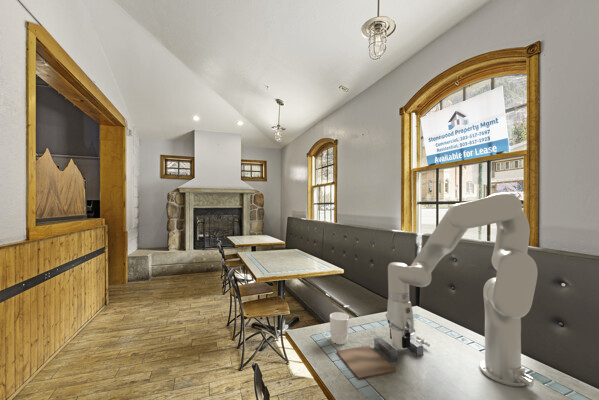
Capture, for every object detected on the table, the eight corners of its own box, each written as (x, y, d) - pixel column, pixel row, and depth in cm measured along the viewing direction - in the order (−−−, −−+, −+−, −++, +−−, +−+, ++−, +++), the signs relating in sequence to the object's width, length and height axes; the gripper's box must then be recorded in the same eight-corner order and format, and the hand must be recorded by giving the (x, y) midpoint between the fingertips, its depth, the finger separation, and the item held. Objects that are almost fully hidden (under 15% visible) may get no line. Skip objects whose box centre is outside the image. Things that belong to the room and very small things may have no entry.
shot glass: (406, 341, 104) (406, 323, 105) (412, 350, 98) (411, 331, 98) (388, 340, 105) (388, 322, 105) (393, 349, 98) (392, 330, 98)
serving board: (395, 371, 89) (395, 369, 89) (358, 379, 85) (358, 377, 85) (369, 346, 105) (369, 345, 105) (336, 352, 100) (336, 351, 100)
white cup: (334, 346, 105) (334, 321, 105) (326, 336, 112) (326, 313, 112) (352, 343, 107) (352, 318, 107) (343, 334, 114) (344, 311, 114)
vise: (434, 352, 101) (434, 343, 101) (390, 361, 95) (390, 352, 95) (415, 339, 110) (415, 331, 110) (374, 347, 104) (374, 338, 104)
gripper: (423, 302, 95) (424, 352, 94) (392, 287, 111) (393, 331, 111) (406, 304, 92) (407, 356, 92) (377, 289, 109) (378, 334, 108)
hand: (399, 342), depth 101 cm, fingers closed on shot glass, 6 cm apart
